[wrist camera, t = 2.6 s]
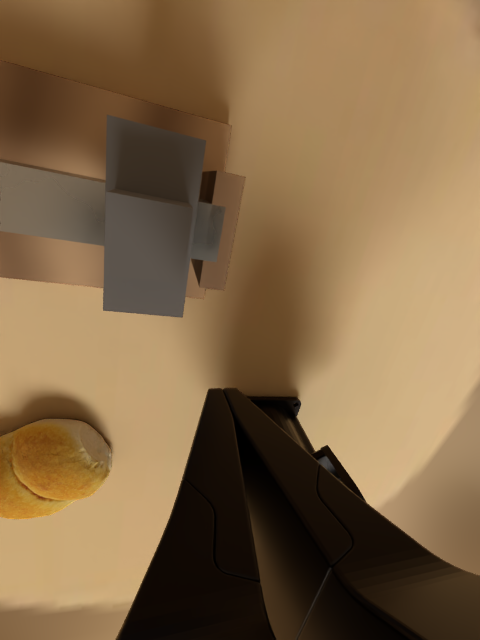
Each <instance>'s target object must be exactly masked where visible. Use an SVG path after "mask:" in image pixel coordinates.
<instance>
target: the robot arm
mask: <svg viewBox="0 0 480 640" xmlns="http://www.w3.org/2000/svg"><path fill="white" fill-rule="evenodd" d="M294 403H295V404H294ZM300 406H301V402H300V400H299V399H298V398H296V397H246V396H245V395H244V394H243V393H242V392H240V391H239V390H238V389H237V388H224V389H223V390H222V389H221V388H211V389H209V390H208V392H207V395H206V399H205V402H204V405H203V409H202V412H201V416H200V419H199V423H198V426H197V430H196V433H195V436H194V440H193V443H192V447H191V450H190V454H189V457H188V460H187V464H186V467H185V471H184V474H183V478H182V481H181V484H180V487H179V491H178V494H177V497H176V500H175V503H174V506H173V509H172V512H171V515H170V518H169V521H168V523H167V525H166V528H165V530H164V533H163V535H162V538H161V540H160V543H159V545H158V547H157V549H156V552H155V554H154V556H153V558H152V561H151V563H150V565H149V567H148V570H147V572H146V574H145V576H144V579H143V581H142V583H141V585H140V588H139V590H138V592H137V595H136V597H135V599H134V601H133V604H132V606H131V608H130V610H129V613H128V615H127V617H126V619H125V621H124V623H123V625H122V628H121V630H120V632H119V634H118V636H117V638H116V640H480V575H476V574H473V573H470V572H467V571H465V570H462V569H460V568H458V567H455V566H453V565H451V564H450V563H448V562H446V561H444V560H442V559H441V558H439V557H438V556H436V555H434V554H433V553H431V552H430V551H429V550H427V549H426V548H425V547H423V546H422V545H420V544H419V543H418V542H417V541H415V540H414V539H413V538H411V537H410V536H409V535H407V534H406V533H405V532H404V531H402V530H401V529H400V528H398V527H397V526H396V525H394V524H393V523H392V522H391V521H389V520H388V519H387V518H385V517H384V516H383V515H381V514H380V513H379V512H378V511H376V510H375V509H374V508H372V507H371V506H370V505H368V504H367V503H366V501H365V499H364V497H363V496H362V494H361V492H360V490H359V489H358V487H357V486H356V484H355V483H354V481H353V480H352V478H351V477H350V476H349V474H348V473H347V472H346V470H345V469H344V467H343V466H342V465H341V463H340V462H339V460H338V459H337V458H336V456H335V455H334V453H333V452H332V451H331V449H330V448H329V447H328V445H326V446H324V447H322V448H321V450H318V451H316V452H315V450H314V448H313V446H312V444H311V443H310V441H309V439H308V437H307V435H306V433H305V432H304V430H303V428H302V426H301V424H300V422H299V421H298V419H297V415H298V412H299V409H300Z"/></svg>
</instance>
